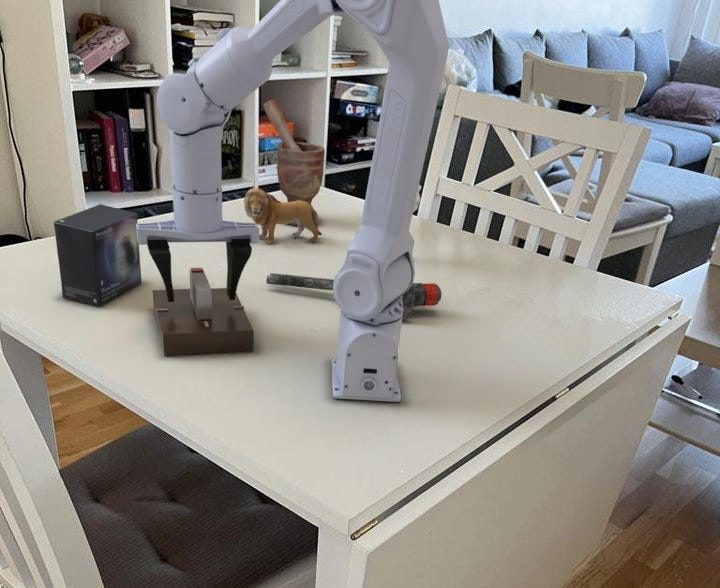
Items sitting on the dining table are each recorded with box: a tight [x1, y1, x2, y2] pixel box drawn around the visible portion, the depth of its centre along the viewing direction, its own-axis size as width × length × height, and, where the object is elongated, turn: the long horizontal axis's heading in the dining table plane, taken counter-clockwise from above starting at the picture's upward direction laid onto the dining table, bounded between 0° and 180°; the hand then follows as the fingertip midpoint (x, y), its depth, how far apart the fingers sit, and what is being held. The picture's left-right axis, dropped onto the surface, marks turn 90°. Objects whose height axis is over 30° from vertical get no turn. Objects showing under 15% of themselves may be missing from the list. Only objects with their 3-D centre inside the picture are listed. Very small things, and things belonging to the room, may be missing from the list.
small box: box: [53, 203, 142, 307], centre depth 104 cm, size 11×6×10 cm, turn 161°
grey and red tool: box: [266, 272, 443, 320], centre depth 113 cm, size 6×26×15 cm
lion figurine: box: [243, 187, 323, 245], centre depth 129 cm, size 15×5×9 cm, turn 118°
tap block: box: [151, 287, 255, 357], centre depth 98 cm, size 14×11×3 cm
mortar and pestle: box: [263, 98, 326, 226], centre depth 137 cm, size 12×9×20 cm
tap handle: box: [188, 267, 212, 320], centre depth 96 cm, size 7×2×4 cm, turn 18°
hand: (201, 298), depth 96 cm, fingers open, 7 cm apart
